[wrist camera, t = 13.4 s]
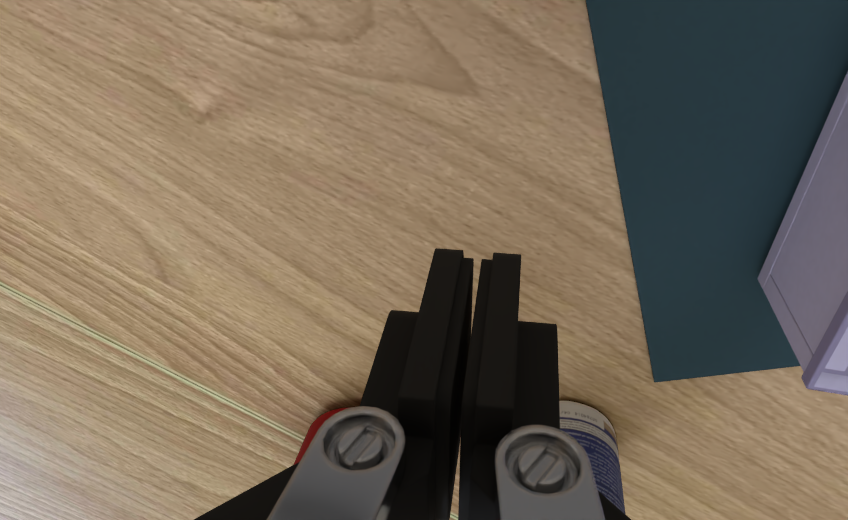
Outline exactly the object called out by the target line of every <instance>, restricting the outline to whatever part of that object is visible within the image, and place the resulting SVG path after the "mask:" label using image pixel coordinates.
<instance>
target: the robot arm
mask: <svg viewBox="0 0 848 520" xmlns="http://www.w3.org/2000/svg"><path fill="white" fill-rule="evenodd" d="M520 269H521V255H519V254H506V253H493V260H487V259H482V262H481V269H480V276H479V283H478V290H477V297H476V304H475V312H474V319H473V326H472V333H471V318H472V290H473V258H464V255H463V250H450V249H437V248H436V249H435V251H434V255H433V259H432V263H431V267H430V271H429V275H428V279H427V283H426V287H425V291H424V294H423V298H422V302H421V306H420V310H419V312H408V311H396V310H391V311H390V313H389V315H388V318H387V321H386V324H385V327H384V331H383V334H382V337H381V340H380V343H379V346H378V350H377V353H376V356H375V359H374V362H373V365H372V369H371V372H370V375H369V378H368V381H367V384H366V388H365V391H364V394H363V397H362V400H361V403H360V406H359V407H352V408H348V409H345V410H342V411H340V412H337V413H335V414H334V415H333V416H331V417H330V418H328V419H327V420H326V421H325V422H324V423H323V424H322V426H321V427H320V428H319V429H318V431H317V433H316V434H315V436H314V438H313V440H312V441H311V443H310V445H309V447H308V448H307V450H306V452H305V454H304V455H303V457H302V459H301V460H300V462H298V463H296V464H295V465H293V466H291V467H289V468H287V469H285V470H284V471H282V472H280V473H278V474H276V475H274V476H273V477H271V478H269V479H267V480H265V481H264V482H262V483H260V484H258V485H256V486H254V487H253V488H251V489H249V490H247V491H245V492H243V493H242V494H240V495H238V496H236V497H234V498H233V499H231V500H229V501H227V502H225V503H223V504H222V505H220V506H218V507H216V508H214V509H212V510H211V511H209V512H207V513H205V514H203V515H201V516H200V517H198V518H196V519H194V520H449V518H450V511H451V504H452V496H453V489H454V482H455V474H456V467H457V459H458V452H459V444H460V437H461V446H460V481H459V517H458V520H631V519H630V518H629V517H627V516H626V515H625V514H624V513H623V512H622V511H621V510H620V509H618V508H617V507H616V506H615V505H614V504H613V503H612V502H611V501H609V500H608V499H607V498H606V497H605V496H604V495H603V494H602V493H600V492H599V491H598V489H597V486H596V482H595V478H594V474H593V470H592V466H591V462H590V460H589V457H588V455H587V453H586V451H585V449H584V448H583V447H582V446H581V444H580V443H579V442H578V441H577V440H576V439H575V438H573V437H572V436H570V435H569V434H567V433H566V432H564V431H562V430H560V408H559V374H558V340H557V325H556V324H547V323H535V322H523V321H518V309H519V289H520Z"/></svg>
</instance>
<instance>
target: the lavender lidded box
mask: <svg viewBox="0 0 848 520" xmlns="http://www.w3.org/2000/svg"><path fill="white" fill-rule="evenodd" d="M758 281H759V283H760V285H761V287H762V289H763V291H764V293H765V295H766V297H767V299H768V301H769V303H770V305H771V307H772V309H773V311H774V313H775V315H776V317H777V319H778V321H779V323H780V325H781V327H782V329H783V331H784V333H785V335H786V337H787V339H788V341H789V343H790V345H791V347H792V349H793V351H794V353H795V355H796V357H797V359H798V361H799V363H800V365H801V367H802V369H803V371H804V373H803V375H802V380H803V382H804V384H805V386H806V388H807V389H811V390H818V391H824V392H830V393H836V394H843V395H848V72H847V74H846V76H845V78H844V81H843V83H842V85H841V88H840V90H839V92H838V95H837V97H836V99H835V101H834V104H833V106H832V108H831V111H830V113H829V115H828V118H827V120H826V122H825V124H824V127H823V129H822V131H821V134H820V136H819V138H818V141H817V143H816V145H815V147H814V150H813V152H812V154H811V157H810V159H809V161H808V164H807V166H806V168H805V170H804V173H803V175H802V177H801V180H800V182H799V184H798V187H797V189H796V191H795V193H794V196H793V198H792V200H791V203H790V205H789V207H788V210H787V212H786V214H785V217H784V219H783V221H782V223H781V226H780V228H779V230H778V233H777V235H776V237H775V240H774V242H773V244H772V246H771V249H770V251H769V253H768V256H767V258H766V260H765V263H764V265H763V267H762V269H761V272H760V274H759V276H758Z"/></svg>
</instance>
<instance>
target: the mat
mask: <svg viewBox="0 0 848 520" xmlns="http://www.w3.org/2000/svg"><path fill="white" fill-rule="evenodd" d="M586 4H587V9H588V15H589V20H590V26H591V32H592V37H593V43H594V48H595V54H596V59H597V65H598V71H599V76H600V82H601V87H602V93H603V98H604V104H605V110H606V115H607V121H608V126H609V132H610V138H611V143H612V149H613V154H614V160H615V165H616V171H617V177H618V182H619V188H620V193H621V199H622V205H623V210H624V216H625V221H626V227H627V232H628V238H629V244H630V249H631V255H632V260H633V266H634V271H635V277H636V283H637V288H638V294H639V299H640V305H641V311H642V316H643V322H644V327H645V333H646V338H647V344H648V350H649V355H650V361H651V366H652V372H653V378H654V382H662V381H671V380H680V379H689V378H697V377H706V376H715V375H724V374H732V373H741V372H750V371H759V370H768V369H776V368H785V367H794V366H801V365H800V363H799V361H798V359H797V357H796V355H795V353H794V351H793V349H792V347H791V345H790V343H789V341H788V339H787V337H786V335H785V333H784V331H783V329H782V327H781V325H780V323H779V321H778V319H777V317H776V315H775V313H774V311H773V309H772V307H771V305H770V303H769V301H768V299H767V297H766V295H765V293H764V291H763V289H762V287H761V285H760V283H759V281H758V276H759V274H760V272H761V269H762V267H763V265H764V263H765V260H766V258H767V256H768V253H769V251H770V249H771V246H772V244H773V242H774V240H775V237H776V235H777V233H778V230H779V228H780V226H781V223H782V221H783V219H784V217H785V214H786V212H787V210H788V207H789V205H790V203H791V200H792V198H793V196H794V193H795V191H796V189H797V187H798V184H799V182H800V180H801V177H802V175H803V173H804V170H805V168H806V166H807V164H808V161H809V159H810V157H811V154H812V152H813V150H814V147H815V145H816V143H817V141H818V138H819V136H820V134H821V131H822V129H823V127H824V124H825V122H826V120H827V118H828V115H829V113H830V111H831V108H832V106H833V104H834V101H835V99H836V97H837V95H838V92H839V90H840V88H841V85H842V83H843V81H844V78H845V76H846V74H847V72H848V0H586Z"/></svg>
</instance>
